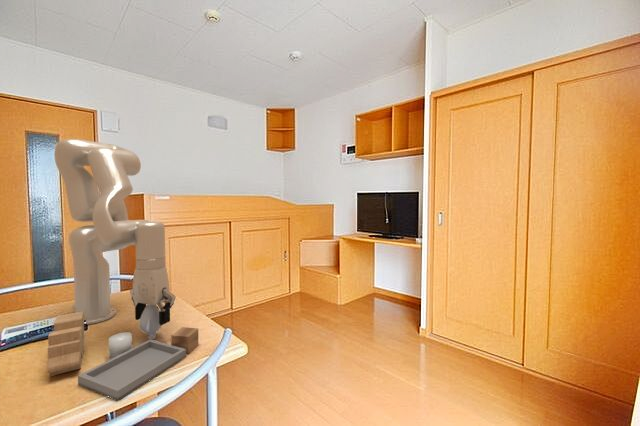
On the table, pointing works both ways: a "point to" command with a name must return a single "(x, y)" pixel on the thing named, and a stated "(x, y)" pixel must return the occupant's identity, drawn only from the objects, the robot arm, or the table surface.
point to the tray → (131, 369)
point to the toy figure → (150, 321)
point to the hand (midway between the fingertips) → (152, 320)
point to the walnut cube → (185, 339)
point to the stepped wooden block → (66, 344)
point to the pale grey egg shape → (119, 344)
